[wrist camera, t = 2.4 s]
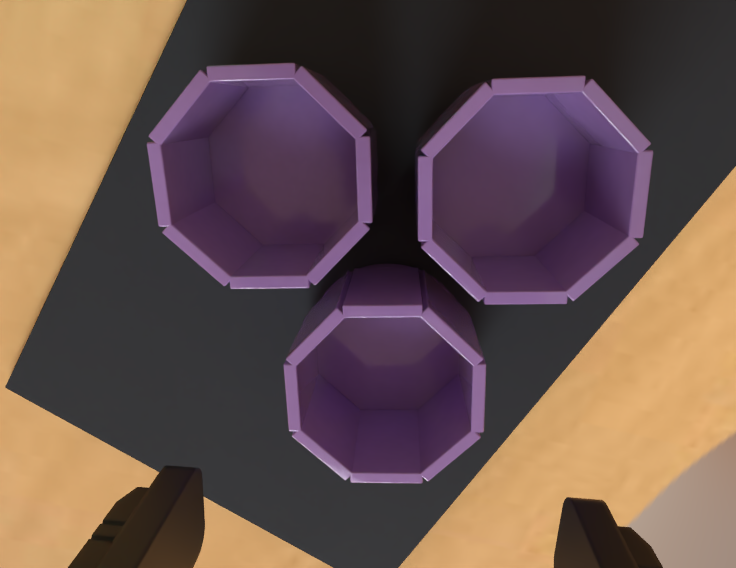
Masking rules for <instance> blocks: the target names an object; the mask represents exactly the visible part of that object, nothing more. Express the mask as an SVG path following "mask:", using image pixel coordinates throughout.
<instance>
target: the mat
mask: <svg viewBox="0 0 736 568" xmlns="http://www.w3.org/2000/svg"><path fill="white" fill-rule="evenodd" d="M269 63H296V64H298V65H300V66H303V67H305V68H308V69H310V70H313V71H315V72H318V73H320V74H322V75H324V76H325V77H326V78H327V79H328V80H329V81H330V82H331V83H332V84H333V85H334V86H335V87H336V88H337V89H338V90H339V91H340V92H341V93H343V94H344V95H345V96H346V97H347V98H348V99H350V100H351V102H352V103H353V104H354V105H355V106H356V107H357V108H358V109H359V111H360V112H361V113H362V114H363V115H364V116H365V117H367V118H368V119H369V120H370V121H371V122H372V123H373V125H374V126H373V128H372V129H371V131H372V130H375V131H376V132H377V156H378V203H377V206H376V210H375V214H374V218H373V222H372V223H371V226H370V229H369V231H368V232H367V233H366V234H365V235H364V236H363V237H362V238H361V239H360V240H359V241H358V242H357V243H356V244H355V245H354V246H353V247H352V248H351V249H350V250H349V251H348V252H347V253H346V255H345V256H344V257H343V258H342V259H341V260H340V261H339V262H338V263H337V264H336V265H335V266H334V267H333V268H332V269H331V270H330V271H329V272H328V273H327V274H326V275H325V276H324V277H323V278H322V279H321V280H320V281H319V282H318V283H317V284H316V285H313V284H312V283H311V285H310V287H309V288H279V289H231V288H230V282H229V283H228V284H227V285H226V286H223V285H222V284H221V283H220V282H218V281H217V280H216V279H215V278H214V277H213V276H212V275H210V274H209V273H208V272H207V271H206V270H205V269H203V268H202V267H201V266H200V265H199V264H198V263H197V262H195V261H194V260H193V259H192V258H191V257H190V256H188V255H187V254H186V253H185V252H184V251H183V250H182V249H180V248H179V247H178V246H177V245H176V244H175V243H173V242H172V241H171V240H170V239H169V238H168V237H167V236H165V235H164V234H163V233H162V232H163V230H164V229H165V228H166V227H160V226H159V225H158V219H157V212H156V205H155V198H154V191H153V184H152V177H151V170H150V163H149V156H148V149H147V143H148V142H154V141H153V140H152V139H151V138H150V137H149V134H150V133H151V132H152V130H153V129H154V128H155V127H156V125H157V124H158V123H159V121H160V120H161V119H162V118H163V116H164V115H165V114H166V112H167V111H168V110H169V109H170V107H171V106H172V105H173V103H174V102H175V101H176V100H177V98H178V97H179V96H180V94H181V93H182V92H183V91H184V89H185V88H186V87H187V85H188V84H189V83H190V82H191V80H192V79H193V78H194V76H195V75H196V74H197V73H198V71H199V70H205V71H207V66H214V65H241V64H269ZM579 75H584V76H585V80H587V79H593V80H594V81H595V82H596V83H597V84H598V85H599V86H600V87H601V88H602V89H603V91H604V92H605V93H606V94H607V95H608V96H609V97H610V98H611V99H612V100H613V102H614V103H615V104H616V105H617V106H618V107H619V108H620V109H621V110H622V111H623V113H624V114H625V115H626V116H627V117H628V118H629V119H630V120H631V121H632V123H633V124H634V125H635V126H636V127H637V128H638V129H639V130H640V131H641V132H642V134H643V135H644V136H645V137H646V138H647V139H648V140H649V141H650V143H651V144H650V146H648V147H647V148H646V149H649V150H653V159H652V167H651V175H650V184H649V192H648V200H647V209H646V217H645V226H644V234H643V238H635V239H636V240H637V241H638V242H639V245H638V246H637V247H636V248H635V249H633V250H632V251H631V252H630V253H629V254H628V255H626V256H625V257H624V258H623V259H622V260H621V261H620V262H618V263H617V264H616V265H615V266H614V267H613V268H611V269H610V270H609V271H608V272H607V273H606V274H604V275H603V276H602V277H601V278H600V279H599V280H598V281H596V282H595V283H594V284H593V285H592V286H591V287H589V288H588V289H587V290H586V291H585V292H584V293H583V294H581V295H580V296H579V297H578V298H577V299H576V300H574V301H572V300H571V299H570V298H569V297H568V299H567V304H490V305H486V304H484V302H483V299H482V300H480V301H479V302H478V301H476V300H475V299H474V298H473V297H472V296H471V295H470V294H469V293H468V292H467V291H466V290H465V289H464V288H463V287H462V286H461V285H460V284H459V283H457V282H456V281H455V280H454V279H453V278H452V277H451V276H450V275H449V274H448V273H447V272H446V271H445V270H444V269H443V268H442V267H441V266H440V265H439V264H438V263H436V262H435V261H434V260H433V259H432V258H431V257H430V256H429V255H428V254H427V253H426V252H425V251H424V250H423V249H422V248H421V242H420V241H418V236H417V227H416V219H415V181H414V179H415V147H416V146H419V144H418V142H417V141H418V139H419V138H420V137H421V136H422V135H423V134H424V133H425V132H426V131H427V130H428V129H429V128H430V127H431V126H432V124H433V123H434V122H435V121H436V120H437V118H438V117H439V116H440V115H441V114H442V113H443V112H444V111H445V110H446V109H447V108H448V107H449V106H450V105H451V104H452V103H453V102H454V101H455V100H456V99H457V98H458V97H459V96H460V95H461V94H462V93H463V92H464V91H465V90H466V89H467V88H468V87H472V86H474V85H475V84H478V83H481V82H484V81H487V80H490V79H493V78H520V77H550V76H579ZM735 166H736V0H187V1H186V4H185V6H184V8H183V10H182V12H181V14H180V16H179V18H178V21H177V23H176V25H175V27H174V29H173V31H172V33H171V36H170V38H169V40H168V42H167V44H166V46H165V48H164V50H163V53H162V55H161V57H160V59H159V61H158V63H157V65H156V67H155V70H154V72H153V74H152V76H151V78H150V80H149V82H148V84H147V87H146V89H145V91H144V93H143V95H142V97H141V99H140V102H139V104H138V106H137V108H136V110H135V112H134V114H133V116H132V119H131V121H130V123H129V125H128V127H127V129H126V131H125V133H124V136H123V138H122V140H121V142H120V144H119V146H118V148H117V151H116V153H115V155H114V157H113V159H112V161H111V163H110V165H109V168H108V170H107V172H106V174H105V176H104V178H103V180H102V182H101V185H100V187H99V189H98V191H97V193H96V195H95V197H94V200H93V202H92V204H91V206H90V208H89V210H88V212H87V214H86V217H85V219H84V221H83V223H82V225H81V227H80V229H79V231H78V234H77V236H76V238H75V240H74V242H73V244H72V246H71V248H70V251H69V253H68V255H67V257H66V259H65V261H64V263H63V266H62V268H61V270H60V272H59V274H58V276H57V278H56V280H55V283H54V285H53V287H52V289H51V291H50V293H49V295H48V297H47V300H46V302H45V304H44V306H43V308H42V310H41V312H40V315H39V317H38V319H37V321H36V323H35V325H34V327H33V329H32V332H31V334H30V336H29V338H28V340H27V342H26V344H25V346H24V349H23V351H22V353H21V355H20V357H19V359H18V361H17V363H16V366H15V368H14V370H13V372H12V374H11V376H10V378H9V381H8V383H7V385H6V388H7V389H9V390H11V391H13V392H14V393H16V394H18V395H20V396H22V397H23V398H25V399H27V400H29V401H31V402H33V403H34V404H36V405H38V406H40V407H42V408H44V409H45V410H47V411H49V412H51V413H53V414H54V415H56V416H58V417H60V418H62V419H64V420H65V421H67V422H69V423H71V424H73V425H75V426H76V427H78V428H80V429H82V430H84V431H85V432H87V433H89V434H91V435H93V436H95V437H96V438H98V439H100V440H102V441H104V442H105V443H107V444H109V445H111V446H113V447H115V448H116V449H118V450H120V451H122V452H124V453H126V454H127V455H129V456H131V457H133V458H135V459H136V460H138V461H140V462H142V463H144V464H146V465H147V466H149V467H151V468H153V469H155V470H157V471H158V472H160V471H161V470H162V468H163V467H164V466H166V465H170V466H183V467H196V468H200V469H201V472H202V480H203V496H204V497H206V498H208V499H209V500H211V501H213V502H215V503H217V504H219V505H220V506H222V507H224V508H226V509H228V510H229V511H231V512H233V513H235V514H237V515H239V516H240V517H242V518H244V519H246V520H248V521H250V522H251V523H253V524H255V525H257V526H259V527H260V528H262V529H264V530H266V531H268V532H270V533H271V534H273V535H275V536H277V537H279V538H280V539H282V540H284V541H286V542H288V543H290V544H291V545H293V546H295V547H297V548H299V549H301V550H302V551H304V552H306V553H308V554H310V555H311V556H313V557H315V558H317V559H319V560H321V561H322V562H324V563H326V564H328V565H330V566H332V567H333V568H398V567H399V566H400V565H401V564H402V563H403V561H404V560H405V559H406V558H407V557H408V555H409V554H410V553H411V552H412V551H413V549H414V548H415V547H416V546H417V545H418V544H419V542H420V541H421V540H422V539H423V538H424V536H425V535H426V534H427V533H428V532H429V530H430V529H431V528H432V527H433V526H434V524H435V523H436V522H437V521H438V520H439V519H440V517H441V516H442V515H443V514H444V513H445V511H446V510H447V509H448V508H449V507H450V505H451V504H452V503H453V502H454V501H455V499H456V498H457V497H458V496H459V495H460V494H461V492H462V491H463V490H464V489H465V488H466V486H467V485H468V484H469V483H470V482H471V480H472V479H473V478H474V477H475V476H476V474H477V473H478V472H479V471H480V470H481V469H482V467H483V466H484V465H485V464H486V463H487V461H488V460H489V459H490V458H491V457H492V455H493V454H494V453H495V452H496V451H497V449H498V448H499V447H500V446H501V445H502V444H503V442H504V441H505V440H506V439H507V438H508V436H509V435H510V434H511V433H512V432H513V430H514V429H515V428H516V427H517V426H518V424H519V423H520V422H521V421H522V420H523V419H524V417H525V416H526V415H527V414H528V413H529V411H530V410H531V409H532V408H533V407H534V405H535V404H536V403H537V402H538V401H539V399H540V398H541V397H542V396H543V395H544V394H545V392H546V391H547V390H548V389H549V388H550V386H551V385H552V384H553V383H554V382H555V380H556V379H557V378H558V377H559V376H560V374H561V373H562V372H563V371H564V370H565V368H566V367H567V366H568V365H569V364H570V363H571V361H572V360H573V359H574V358H575V357H576V355H577V354H578V353H579V352H580V351H581V349H582V348H583V347H584V346H585V345H586V343H587V342H588V341H589V340H590V339H591V338H592V336H593V335H594V334H595V333H596V332H597V330H598V329H599V328H600V327H601V326H602V324H603V323H604V322H605V321H606V320H607V318H608V317H609V316H610V315H611V314H612V313H613V311H614V310H615V309H616V308H617V307H618V305H619V304H620V303H621V302H622V301H623V299H624V298H625V297H626V296H627V295H628V293H629V292H630V291H631V290H632V289H633V288H634V286H635V285H636V284H637V283H638V282H639V280H640V279H641V278H642V277H643V276H644V274H645V273H646V272H647V271H648V270H649V268H650V267H651V266H652V265H653V264H654V263H655V261H656V260H657V259H658V258H659V257H660V255H661V254H662V253H663V252H664V251H665V249H666V248H667V247H668V246H669V245H670V243H671V242H672V241H673V240H674V239H675V238H676V236H677V235H678V234H679V233H680V232H681V230H682V229H683V228H684V227H685V226H686V224H687V223H688V222H689V221H690V220H691V218H692V217H693V216H694V215H695V214H696V213H697V211H698V210H699V209H700V208H701V207H702V205H703V204H704V203H705V202H706V201H707V199H708V198H709V197H710V196H711V195H712V193H713V192H714V191H715V190H716V189H717V188H718V186H719V185H720V184H721V183H722V182H723V180H724V179H725V178H726V177H727V176H728V174H729V173H730V172H731V171H732V170H733V168H734V167H735ZM375 264H399V265H405V266H410V267H413V268H419V270H421V271H422V270H425V271H426V272H427V273H428V274H429V275H431V276H433V277H434V278H436V279H437V280H439V281H440V282H441V283H442V284H443V285H445V286H446V287H447V288H448V289H449V291H450V292H451V293H452V294H453V295H454V297H455V298H456V300H457V301H458V302H459V303H460V304H461V305H462V306H463V307H464V308H465V309H466V310H467V311H468V312H469V315H470V317H471V319H472V322H473V325H474V329H475V332H476V335H477V338H478V341H479V344H480V347H481V350H482V353H483V356H484V359H485V362H486V389H485V417H484V432H480V435H481V438H480V439H479V440H477V441H476V442H475V443H474V444H473V445H471V446H470V447H469V448H468V449H467V450H465V451H464V452H463V453H462V454H461V455H459V456H458V457H457V458H456V459H455V460H453V461H452V462H451V463H450V464H448V465H447V466H446V467H445V468H444V469H442V470H441V471H440V472H439V473H438V474H436V475H435V476H434V477H433V478H432V479H430V480H429V481H427V480H426V479H424V478H423V483H352V482H351V481H350V477H349V478H348V479H346V480H344V479H343V478H342V477H340V476H339V475H338V474H337V473H335V472H334V471H333V470H332V469H331V468H329V467H328V466H327V465H326V464H325V463H323V462H322V461H321V460H320V459H319V458H317V457H316V456H315V455H314V454H313V453H311V452H310V451H309V450H308V449H307V448H305V447H304V446H303V445H302V444H301V443H299V442H298V441H297V440H296V439H295V438H293V437H292V434H293V431H289V427H288V415H287V403H286V390H285V378H284V366H283V365H284V363H285V360H286V357H287V355H288V353H289V351H290V348H291V346H292V344H293V342H294V340H295V338H296V335H297V333H298V331H299V329H300V327H301V325H302V323H303V320H304V318H305V316H306V314H307V312H308V311H309V310H310V309H311V308H312V307H313V306H314V305H315V304H316V303H317V302H318V301H319V300H320V298H321V297H322V295H323V294H324V293H325V292H326V291H327V289H328V288H329V287H330V286H331V285H332V284H334V283H335V282H336V281H337V280H338V279H340V278H341V277H343V276H344V275H345V274H346V273H347V272H348V271H350V272H352V271H353V269H355V268H362V267H365V266H370V265H375Z"/></svg>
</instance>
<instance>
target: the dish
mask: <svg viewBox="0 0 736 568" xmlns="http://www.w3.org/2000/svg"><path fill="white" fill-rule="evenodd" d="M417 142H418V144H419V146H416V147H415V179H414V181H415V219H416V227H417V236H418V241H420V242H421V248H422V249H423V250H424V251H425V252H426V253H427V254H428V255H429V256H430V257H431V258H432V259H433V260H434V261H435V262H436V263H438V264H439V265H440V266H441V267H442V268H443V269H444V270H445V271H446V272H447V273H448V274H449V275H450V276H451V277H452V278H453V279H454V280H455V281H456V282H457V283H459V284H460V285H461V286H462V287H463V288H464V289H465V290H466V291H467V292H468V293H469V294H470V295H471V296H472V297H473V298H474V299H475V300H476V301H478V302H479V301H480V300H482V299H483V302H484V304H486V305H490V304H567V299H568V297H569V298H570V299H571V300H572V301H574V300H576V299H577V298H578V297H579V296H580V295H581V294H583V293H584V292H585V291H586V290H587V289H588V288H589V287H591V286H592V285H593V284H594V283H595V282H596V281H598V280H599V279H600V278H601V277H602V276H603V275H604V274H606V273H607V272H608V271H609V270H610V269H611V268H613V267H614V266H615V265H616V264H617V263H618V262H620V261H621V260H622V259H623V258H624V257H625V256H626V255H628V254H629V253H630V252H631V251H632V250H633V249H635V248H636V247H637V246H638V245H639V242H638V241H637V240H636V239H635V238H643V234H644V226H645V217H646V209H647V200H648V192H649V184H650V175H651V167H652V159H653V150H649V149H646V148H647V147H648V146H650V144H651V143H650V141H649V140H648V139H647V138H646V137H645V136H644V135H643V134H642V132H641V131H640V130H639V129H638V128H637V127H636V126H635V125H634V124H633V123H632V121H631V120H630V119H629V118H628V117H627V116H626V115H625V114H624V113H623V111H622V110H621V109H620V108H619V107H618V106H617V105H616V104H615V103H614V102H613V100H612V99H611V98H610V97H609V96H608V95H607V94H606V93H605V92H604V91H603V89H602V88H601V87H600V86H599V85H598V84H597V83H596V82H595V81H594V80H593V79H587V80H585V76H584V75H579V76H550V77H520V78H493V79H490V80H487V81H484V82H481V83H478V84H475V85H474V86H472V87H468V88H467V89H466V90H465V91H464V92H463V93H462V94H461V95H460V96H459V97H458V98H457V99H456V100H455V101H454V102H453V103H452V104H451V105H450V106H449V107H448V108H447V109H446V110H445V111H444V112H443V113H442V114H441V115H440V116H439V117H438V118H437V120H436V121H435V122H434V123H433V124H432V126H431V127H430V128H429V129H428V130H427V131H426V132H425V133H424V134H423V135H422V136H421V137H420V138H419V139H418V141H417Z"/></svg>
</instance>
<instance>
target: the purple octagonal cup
mask: <svg viewBox="0 0 736 568" xmlns="http://www.w3.org/2000/svg"><path fill="white" fill-rule="evenodd" d="M373 126H374V125H373V123H372V122H371V121H370V120H369V119H368V118H367V117H365V116H364V115H363V114H362V113H361V112H360V111H359V109H358V108H357V107H356V106H355V105H354V104H353V103H352V102H351V100H350V99H348V98H347V97H346V96H345V95H344V94H343V93H341V92H340V91H339V90H338V89H337V88H336V87H335V86H334V85H333V84H332V83H331V82H330V81H329V80H328V79H327V78H326V77H325V76H324V75H322V74H320V73H318V72H315V71H313V70H310V69H308V68H305V67H303V66H300V65H298V64H296V63H269V64H241V65H214V66H207V71H205V70H199V71H198V73H197V74H196V75H195V76H194V78H193V79H192V80H191V82H190V83H189V84H188V85H187V87H186V88H185V89H184V91H183V92H182V93H181V94H180V96H179V97H178V98H177V100H176V101H175V102H174V103H173V105H172V106H171V107H170V109H169V110H168V111H167V112H166V114H165V115H164V116H163V118H162V119H161V120H160V121H159V123H158V124H157V125H156V127H155V128H154V129H153V130H152V132H151V133H150V134H149V137H150V138H151V139H152V140H153V141H154V142H148V143H147V149H148V156H149V163H150V170H151V177H152V184H153V191H154V198H155V205H156V212H157V219H158V225H159V226H160V227H166V228H165V229H164V230H163V232H162V233H163V234H164V235H165V236H167V237H168V238H169V239H170V240H171V241H172V242H173V243H175V244H176V245H177V246H178V247H179V248H180V249H182V250H183V251H184V252H185V253H186V254H187V255H188V256H190V257H191V258H192V259H193V260H194V261H195V262H197V263H198V264H199V265H200V266H201V267H202V268H203V269H205V270H206V271H207V272H208V273H209V274H210V275H212V276H213V277H214V278H215V279H216V280H217V281H218V282H220V283H221V284H222V285H223V286H226V285H227V284H228V283H229V282H230V288H231V289H279V288H309V287H310V285H311V283H312V284H313V285H316V284H317V283H318V282H319V281H320V280H321V279H322V278H323V277H324V276H325V275H326V274H327V273H328V272H329V271H330V270H331V269H332V268H333V267H334V266H335V265H336V264H337V263H338V262H339V261H340V260H341V259H342V258H343V257H344V256H345V255H346V253H347V252H348V251H349V250H350V249H351V248H352V247H353V246H354V245H355V244H356V243H357V242H358V241H359V240H360V239H361V238H362V237H363V236H364V235H365V234H366V233H367V232H368V231H369V229H370V226H371V223H372V222H373V218H374V214H375V210H376V206H377V203H378V156H377V132H376V131H375V130H372V131H371V129H372V128H373Z"/></svg>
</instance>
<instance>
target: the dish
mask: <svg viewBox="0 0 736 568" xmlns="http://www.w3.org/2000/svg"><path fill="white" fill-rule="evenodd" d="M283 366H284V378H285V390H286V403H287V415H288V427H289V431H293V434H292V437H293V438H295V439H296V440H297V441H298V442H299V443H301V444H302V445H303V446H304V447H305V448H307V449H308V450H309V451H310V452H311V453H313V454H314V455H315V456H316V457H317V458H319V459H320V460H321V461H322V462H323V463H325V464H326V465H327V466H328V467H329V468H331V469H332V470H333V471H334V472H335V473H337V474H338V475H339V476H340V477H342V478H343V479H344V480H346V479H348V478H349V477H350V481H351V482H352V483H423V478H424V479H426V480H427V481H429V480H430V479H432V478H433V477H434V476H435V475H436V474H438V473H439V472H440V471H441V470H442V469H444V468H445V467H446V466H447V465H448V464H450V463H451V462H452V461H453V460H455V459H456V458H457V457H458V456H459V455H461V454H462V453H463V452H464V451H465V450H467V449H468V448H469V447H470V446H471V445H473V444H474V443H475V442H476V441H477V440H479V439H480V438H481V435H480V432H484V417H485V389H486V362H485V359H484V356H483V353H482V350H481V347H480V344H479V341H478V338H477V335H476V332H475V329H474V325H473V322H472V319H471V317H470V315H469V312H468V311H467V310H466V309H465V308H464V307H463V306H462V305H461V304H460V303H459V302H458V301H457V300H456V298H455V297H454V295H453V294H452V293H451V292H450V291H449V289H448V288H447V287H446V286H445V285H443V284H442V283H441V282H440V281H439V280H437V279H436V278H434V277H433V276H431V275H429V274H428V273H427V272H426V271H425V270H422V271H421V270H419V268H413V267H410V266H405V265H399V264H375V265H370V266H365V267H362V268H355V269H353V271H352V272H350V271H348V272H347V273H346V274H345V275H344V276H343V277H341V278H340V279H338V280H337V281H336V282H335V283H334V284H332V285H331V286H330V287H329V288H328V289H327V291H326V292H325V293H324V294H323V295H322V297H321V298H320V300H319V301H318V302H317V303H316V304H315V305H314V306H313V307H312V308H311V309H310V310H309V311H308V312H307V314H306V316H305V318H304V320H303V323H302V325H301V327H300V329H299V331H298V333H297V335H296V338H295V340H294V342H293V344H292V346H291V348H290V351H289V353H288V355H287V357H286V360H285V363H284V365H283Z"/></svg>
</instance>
